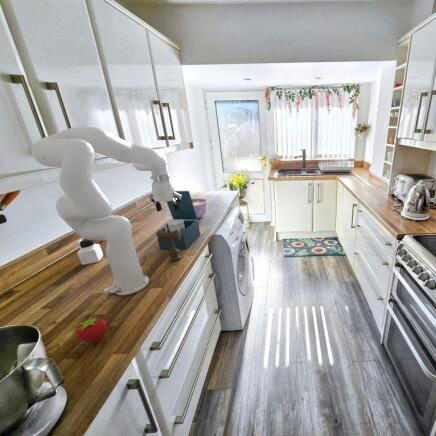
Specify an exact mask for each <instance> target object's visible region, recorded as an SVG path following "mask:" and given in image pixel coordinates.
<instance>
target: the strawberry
mask: <svg viewBox="0 0 436 436" xmlns="http://www.w3.org/2000/svg"><path fill="white" fill-rule="evenodd" d="M78 324H79V327H77V329H76V330H75V331H76V332H75V333H76V337H77V338H78V339H80V340H81V341H83V342H88V343H94V344H96V343H99V342H101V340H102V338H103V337H104V336H105V334H106V332H107V330H108V323H107V322H106V320H104V319H100V318H98V317H97V316H96V317H93V318H92V317H91V316H90V317H89V318H88V319H84V321H83V322H80V323H78Z"/></svg>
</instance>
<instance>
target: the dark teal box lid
mask: <svg viewBox="0 0 436 436" xmlns="http://www.w3.org/2000/svg"><path fill="white" fill-rule="evenodd" d="M175 192H176V193H178V194H180V195H182V197H181V200H180V201H179V203H178V204H179V210H178V211H177V212H175V209H174V203H173V202H172V201H165V202H166V204H167V208H168V210H169V212H170V214H171V215H170V216H171V217H172V220H198V219H199V218H197V215H196V212H195V209H194V205H193V202H192V199H193V198H192V195H191V193H190V190H175ZM176 199H178V197H177V196H176Z"/></svg>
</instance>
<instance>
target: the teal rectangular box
mask: <svg viewBox="0 0 436 436" xmlns="http://www.w3.org/2000/svg"><path fill="white" fill-rule="evenodd" d="M183 221H184V226H185V230H183V231H182V232H181V239H180V240H175V239H173V238H172V240H173V243H174V245H175V247H176V249H178V250H187V249H188V248H189V247H190V246H191V245H193V243H194V242H195V241H196V240H197V239H198V238H199V237H201V230H200V226H199V220H198V219H197V220H183ZM160 229H161V230H163V231H165V227H164V226H163V227H162V228H160ZM157 232H158V230H157V231H156V232H155V234H156V236H157ZM165 232H166V231H165ZM157 242H158V246H159V249H160V250H170V244H169V238H167V239H165V240H163V241H162V242H159V241H158V240H157Z"/></svg>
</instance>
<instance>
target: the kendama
mask: <svg viewBox="0 0 436 436" xmlns="http://www.w3.org/2000/svg"><path fill="white" fill-rule="evenodd" d="M165 224H166V227H167V231H168V232H165V231H163V230H161V229H162V228H160V229H157V231H158V232H157V231H156V232H157V235H156V239H157V242H158V241H159V242H162V241H163V240H165V239H167V238H169V244H170V249H169V251H168V254H169V262H178V261H179V260H181V258H182V256H181V255H179V251H180V249H176V247H175V245H174V243H173V240H172V238H173V239H175V240H180V239H181V231H180V229H177V230H175V231H173V232H170V230H169V227H168V224H167V222H166V223H165ZM159 242H158V243H159Z"/></svg>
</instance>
